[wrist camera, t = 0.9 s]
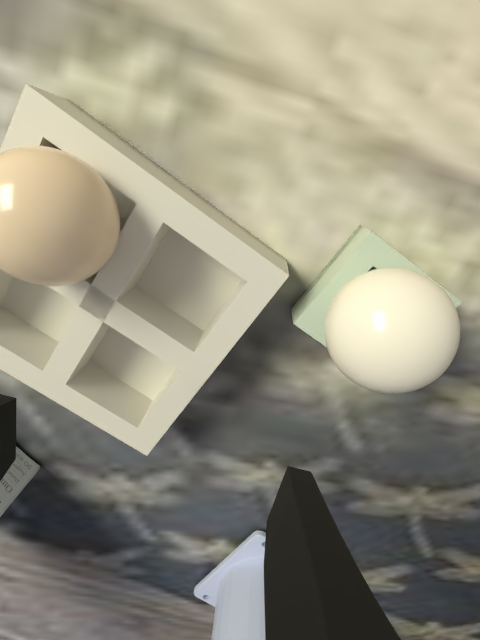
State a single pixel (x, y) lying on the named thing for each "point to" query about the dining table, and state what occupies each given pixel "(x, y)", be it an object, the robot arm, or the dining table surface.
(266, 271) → the carton
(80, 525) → the dining table surface
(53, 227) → the brown egg
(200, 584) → the robot arm
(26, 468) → the supplement box
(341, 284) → the mint square frame
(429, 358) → the cream egg
